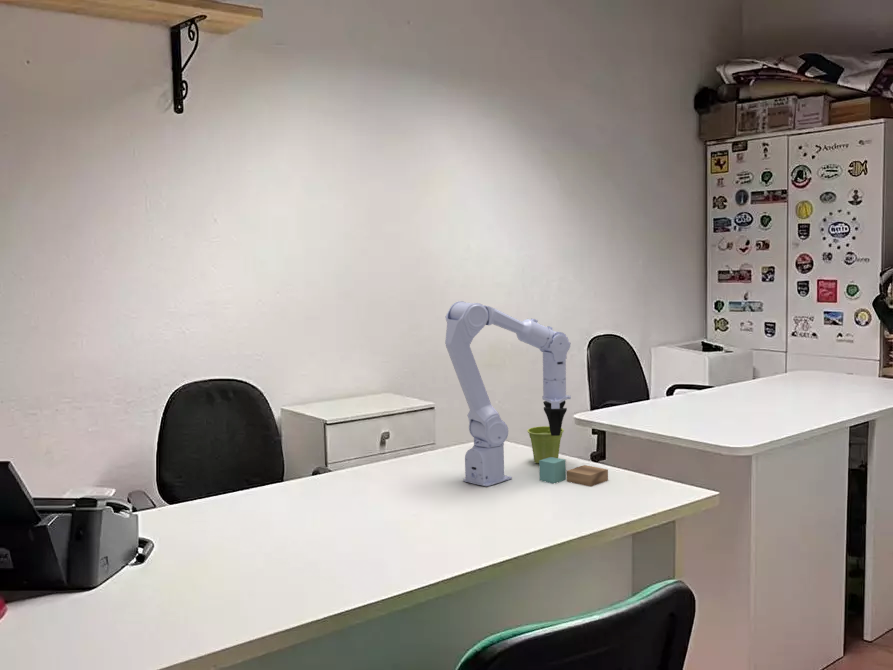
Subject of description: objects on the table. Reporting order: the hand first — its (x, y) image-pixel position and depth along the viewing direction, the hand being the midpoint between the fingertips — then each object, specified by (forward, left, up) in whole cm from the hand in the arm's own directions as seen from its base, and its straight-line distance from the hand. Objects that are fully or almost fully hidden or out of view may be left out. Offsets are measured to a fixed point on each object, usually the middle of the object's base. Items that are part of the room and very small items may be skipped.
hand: (555, 432), depth 226 cm
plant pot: (+4, +6, -10) cm, 12 cm away
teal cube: (-8, -6, -10) cm, 14 cm away
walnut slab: (-4, -13, -10) cm, 16 cm away
